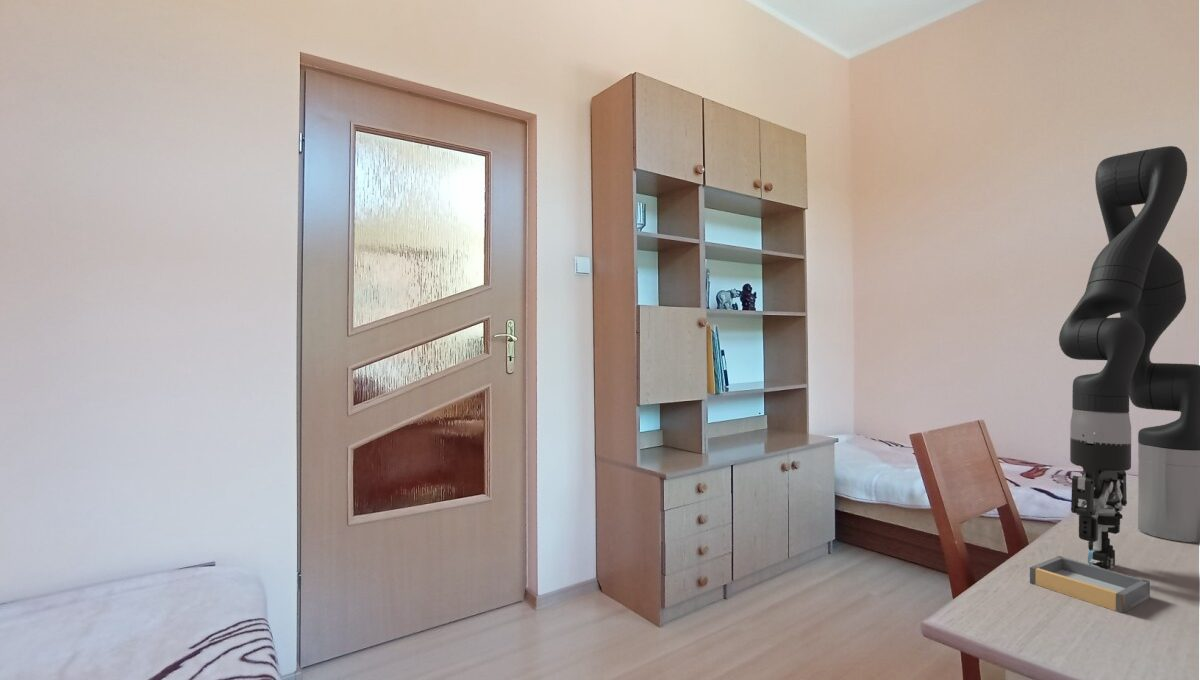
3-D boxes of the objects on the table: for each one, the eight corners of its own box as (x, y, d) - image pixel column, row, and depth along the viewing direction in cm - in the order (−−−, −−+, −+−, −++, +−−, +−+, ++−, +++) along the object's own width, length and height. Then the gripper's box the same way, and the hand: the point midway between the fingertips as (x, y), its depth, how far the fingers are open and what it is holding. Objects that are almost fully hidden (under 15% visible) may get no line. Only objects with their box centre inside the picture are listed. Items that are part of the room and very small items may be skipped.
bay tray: (1058, 570, 91) (1058, 555, 91) (1149, 597, 81) (1149, 581, 81) (1029, 582, 86) (1029, 567, 86) (1122, 613, 76) (1122, 595, 76)
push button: (1113, 577, 88) (1113, 514, 88) (1071, 565, 93) (1071, 505, 93) (1127, 568, 92) (1127, 507, 92) (1086, 557, 96) (1086, 499, 96)
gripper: (1090, 432, 99) (1089, 523, 99) (1052, 437, 92) (1051, 536, 92) (1147, 438, 92) (1146, 536, 92) (1111, 444, 85) (1110, 551, 85)
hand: (1099, 536), depth 92 cm, fingers open, 8 cm apart
